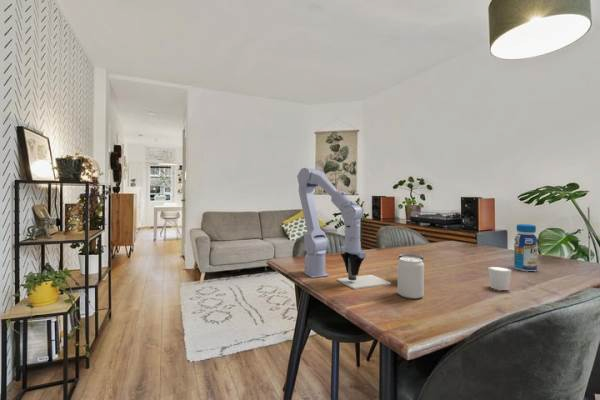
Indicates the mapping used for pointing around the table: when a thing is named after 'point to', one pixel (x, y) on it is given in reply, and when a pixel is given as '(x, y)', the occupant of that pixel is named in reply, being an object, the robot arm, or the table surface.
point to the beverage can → (411, 277)
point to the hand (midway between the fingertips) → (352, 273)
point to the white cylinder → (499, 278)
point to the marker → (350, 276)
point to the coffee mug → (411, 256)
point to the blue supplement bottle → (525, 248)
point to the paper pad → (364, 282)
